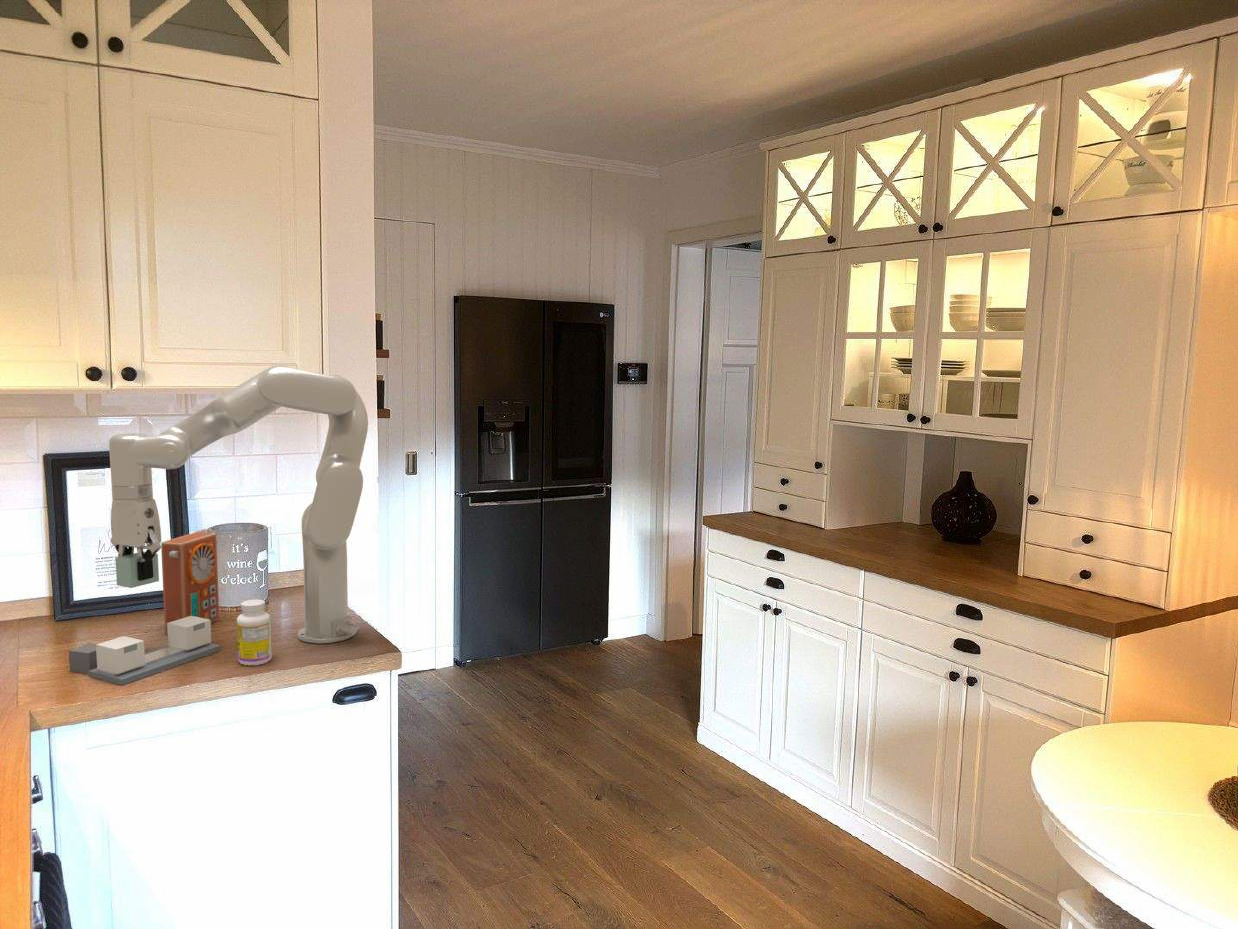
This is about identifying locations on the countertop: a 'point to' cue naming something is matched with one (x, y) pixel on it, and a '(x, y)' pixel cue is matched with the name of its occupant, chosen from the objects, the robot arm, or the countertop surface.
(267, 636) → the supplement bottle
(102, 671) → the rail
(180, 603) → the control panel
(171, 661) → the board
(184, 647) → the mounted modules
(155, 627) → the countertop surface
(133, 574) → the module
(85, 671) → the block
